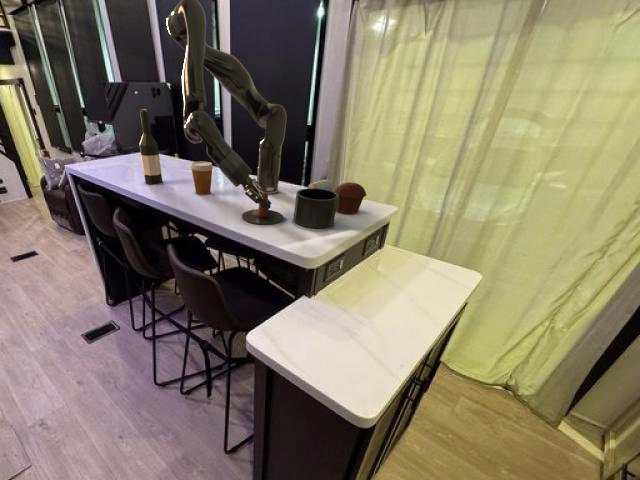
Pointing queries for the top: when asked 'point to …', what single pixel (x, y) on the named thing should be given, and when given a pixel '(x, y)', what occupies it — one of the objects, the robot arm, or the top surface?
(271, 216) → the lid
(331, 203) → the pot
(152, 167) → the wine bottle
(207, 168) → the disposable coffee cup
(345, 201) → the muffin
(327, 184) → the ceramic mug
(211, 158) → the robot arm
